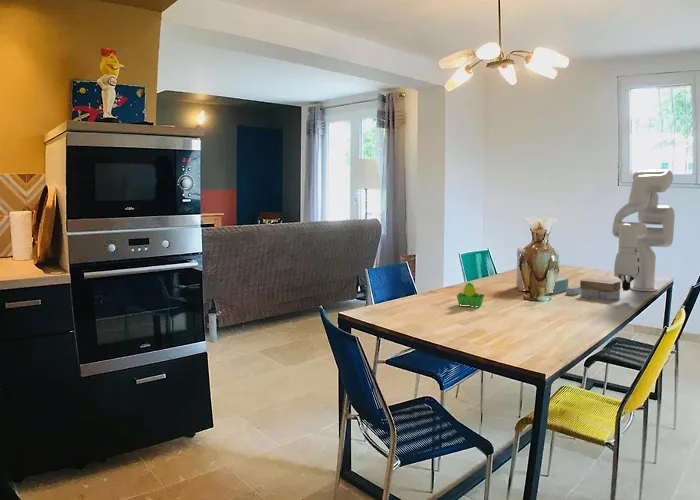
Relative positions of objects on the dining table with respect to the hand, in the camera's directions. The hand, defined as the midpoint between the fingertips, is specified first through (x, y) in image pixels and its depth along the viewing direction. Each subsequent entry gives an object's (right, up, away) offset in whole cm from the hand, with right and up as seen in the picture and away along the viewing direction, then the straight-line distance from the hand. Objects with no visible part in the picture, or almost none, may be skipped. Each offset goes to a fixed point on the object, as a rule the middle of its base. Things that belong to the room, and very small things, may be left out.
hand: (626, 290), depth 250 cm
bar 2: (-12, -4, +14) cm, 18 cm away
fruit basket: (-73, -7, -5) cm, 73 cm away
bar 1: (-16, -3, +19) cm, 25 cm away
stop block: (-22, -3, +25) cm, 33 cm away
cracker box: (-37, -2, +33) cm, 49 cm away
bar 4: (-5, -5, +6) cm, 9 cm away
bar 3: (-8, -4, +10) cm, 13 cm away
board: (-8, 0, +9) cm, 12 cm away
